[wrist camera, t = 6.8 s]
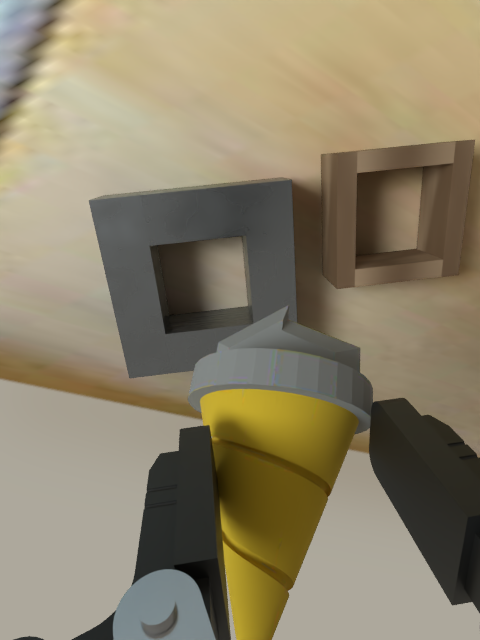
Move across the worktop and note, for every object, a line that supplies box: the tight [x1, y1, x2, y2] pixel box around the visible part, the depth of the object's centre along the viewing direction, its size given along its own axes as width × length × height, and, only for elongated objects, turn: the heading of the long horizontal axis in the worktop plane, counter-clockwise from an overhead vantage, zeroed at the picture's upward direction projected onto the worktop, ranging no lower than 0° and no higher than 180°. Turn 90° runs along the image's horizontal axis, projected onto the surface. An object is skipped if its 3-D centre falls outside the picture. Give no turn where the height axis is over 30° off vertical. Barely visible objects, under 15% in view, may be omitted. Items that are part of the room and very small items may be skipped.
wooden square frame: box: [321, 140, 475, 289], centre depth 27 cm, size 8×8×4 cm
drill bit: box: [188, 305, 373, 640], centre depth 11 cm, size 5×5×10 cm
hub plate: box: [89, 178, 297, 378], centre depth 27 cm, size 12×12×4 cm
